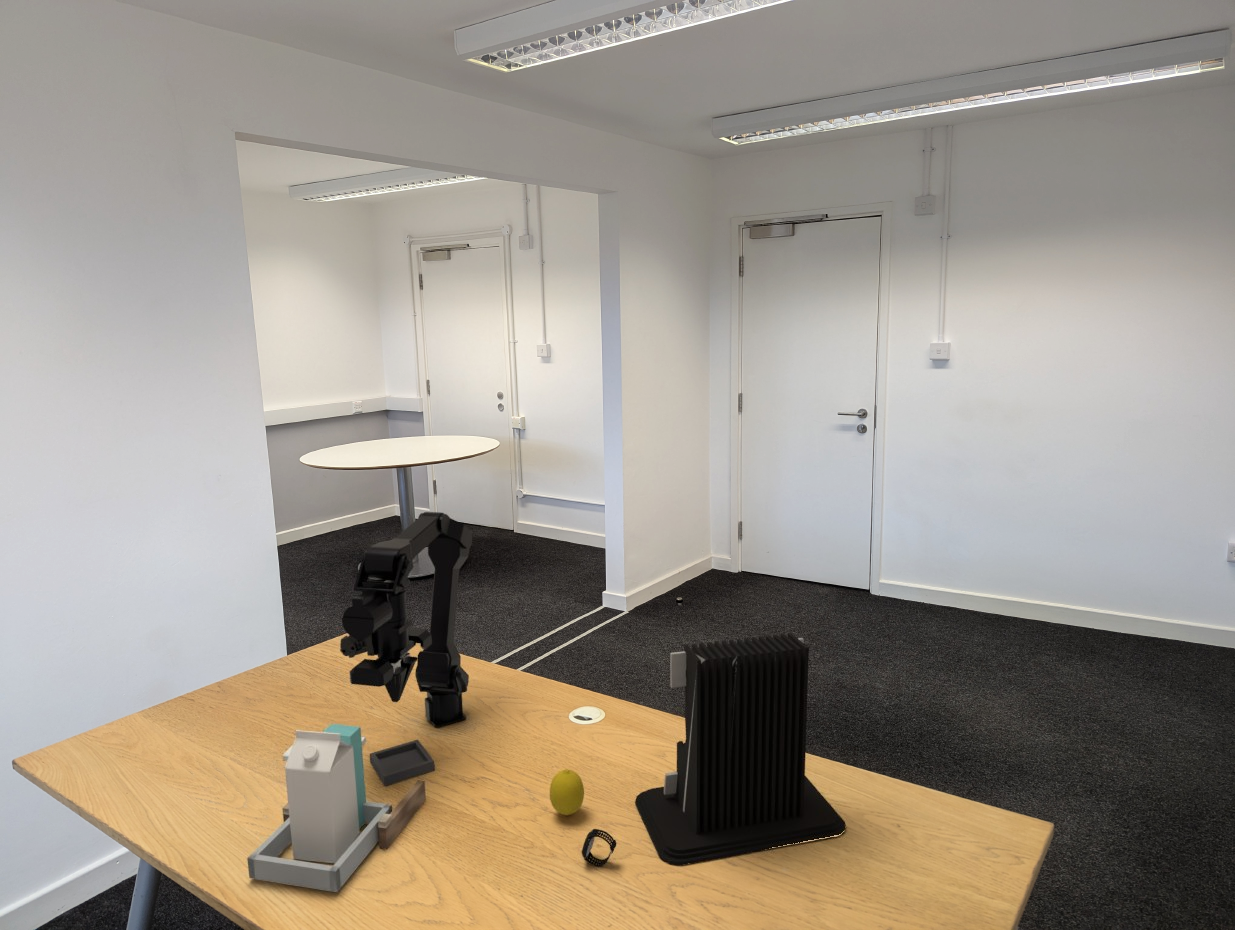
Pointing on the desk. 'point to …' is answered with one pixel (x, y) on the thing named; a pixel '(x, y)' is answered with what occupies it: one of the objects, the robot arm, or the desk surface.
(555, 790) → the lemon
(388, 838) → the channel
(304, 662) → the desk surface
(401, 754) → the tray
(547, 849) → the desk surface
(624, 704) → the desk surface
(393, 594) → the robot arm
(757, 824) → the black ribbed block
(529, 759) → the desk surface
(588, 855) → the smartwatch
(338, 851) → the milk carton
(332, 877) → the tray
